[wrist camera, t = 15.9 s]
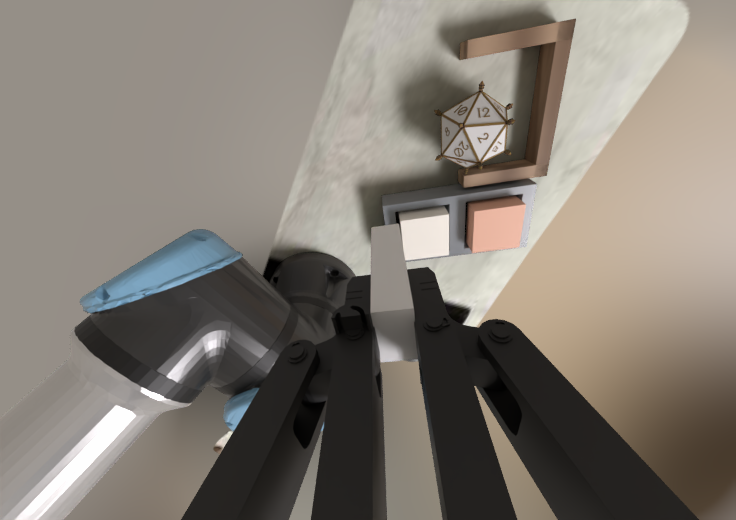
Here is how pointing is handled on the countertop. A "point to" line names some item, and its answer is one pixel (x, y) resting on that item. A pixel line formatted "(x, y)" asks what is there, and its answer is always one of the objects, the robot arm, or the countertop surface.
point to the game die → (474, 130)
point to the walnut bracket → (545, 97)
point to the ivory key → (425, 232)
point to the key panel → (460, 207)
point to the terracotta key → (494, 223)
